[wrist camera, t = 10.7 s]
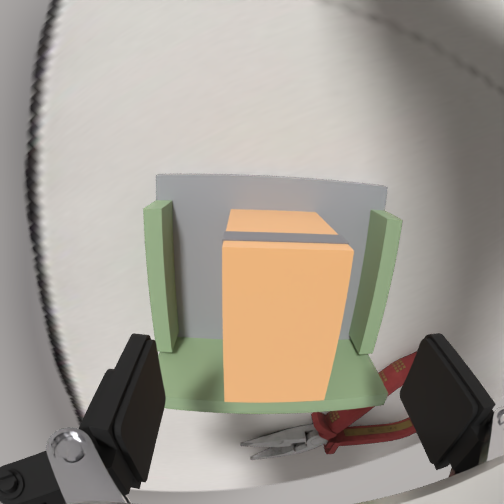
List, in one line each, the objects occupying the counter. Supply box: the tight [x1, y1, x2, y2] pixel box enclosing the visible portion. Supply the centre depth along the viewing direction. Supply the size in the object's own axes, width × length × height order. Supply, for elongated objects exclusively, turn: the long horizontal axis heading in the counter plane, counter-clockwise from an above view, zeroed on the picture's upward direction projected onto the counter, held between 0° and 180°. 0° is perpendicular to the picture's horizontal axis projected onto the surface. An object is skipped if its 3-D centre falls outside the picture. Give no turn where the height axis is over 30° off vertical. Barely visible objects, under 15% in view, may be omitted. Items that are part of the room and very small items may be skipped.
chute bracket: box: [143, 174, 403, 414], centre depth 17 cm, size 12×14×7 cm
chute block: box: [222, 209, 354, 403], centre depth 16 cm, size 8×5×7 cm, turn 178°
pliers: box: [241, 352, 417, 460], centre depth 25 cm, size 12×20×3 cm, turn 110°
